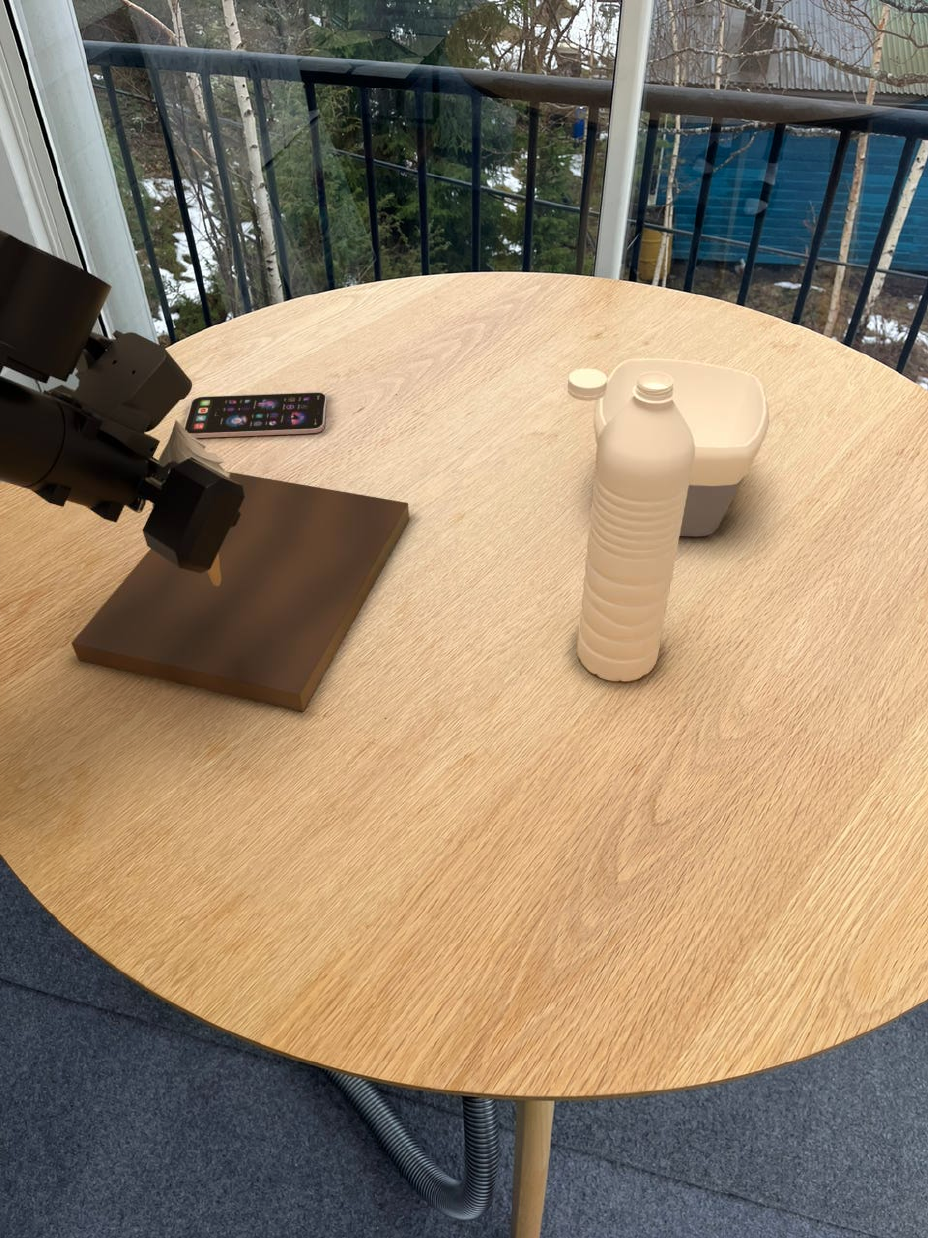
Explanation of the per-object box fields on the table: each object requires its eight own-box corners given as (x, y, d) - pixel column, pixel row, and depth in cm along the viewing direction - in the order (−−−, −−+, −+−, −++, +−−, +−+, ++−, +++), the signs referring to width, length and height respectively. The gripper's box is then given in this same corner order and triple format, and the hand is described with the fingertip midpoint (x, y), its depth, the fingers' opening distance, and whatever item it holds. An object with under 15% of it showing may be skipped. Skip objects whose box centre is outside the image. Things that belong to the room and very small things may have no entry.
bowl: (751, 468, 95) (775, 368, 87) (741, 564, 84) (767, 460, 76) (600, 446, 98) (610, 348, 90) (572, 536, 87) (581, 433, 80)
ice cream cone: (250, 558, 76) (216, 393, 66) (255, 603, 72) (219, 436, 62) (180, 568, 75) (134, 403, 65) (181, 615, 71) (132, 447, 61)
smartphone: (192, 396, 105) (326, 391, 105) (193, 401, 105) (327, 395, 106) (181, 434, 99) (323, 428, 100) (182, 438, 100) (323, 433, 100)
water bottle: (652, 626, 79) (700, 353, 61) (661, 684, 74) (715, 406, 57) (548, 624, 79) (566, 352, 62) (550, 682, 74) (570, 404, 57)
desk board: (78, 660, 77) (70, 643, 75) (220, 485, 94) (216, 469, 92) (303, 712, 72) (299, 695, 71) (409, 519, 90) (408, 502, 88)
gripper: (187, 366, 51) (350, 452, 64) (4, 273, 60) (182, 366, 73) (101, 550, 52) (280, 596, 66) (-66, 432, 61) (122, 494, 74)
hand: (214, 505), depth 70 cm, fingers closed on ice cream cone, 5 cm apart
